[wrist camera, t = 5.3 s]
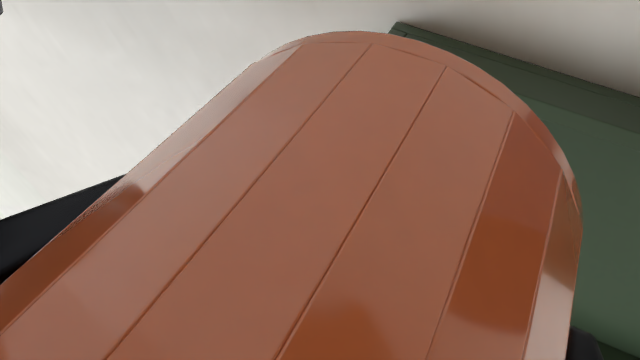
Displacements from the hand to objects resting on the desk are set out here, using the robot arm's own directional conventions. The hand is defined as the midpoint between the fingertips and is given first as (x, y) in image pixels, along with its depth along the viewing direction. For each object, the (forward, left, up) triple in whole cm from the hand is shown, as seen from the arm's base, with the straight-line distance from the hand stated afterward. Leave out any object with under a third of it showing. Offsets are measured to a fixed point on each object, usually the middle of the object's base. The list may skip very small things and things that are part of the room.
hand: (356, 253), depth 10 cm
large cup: (0, 0, -1) cm, 1 cm away
